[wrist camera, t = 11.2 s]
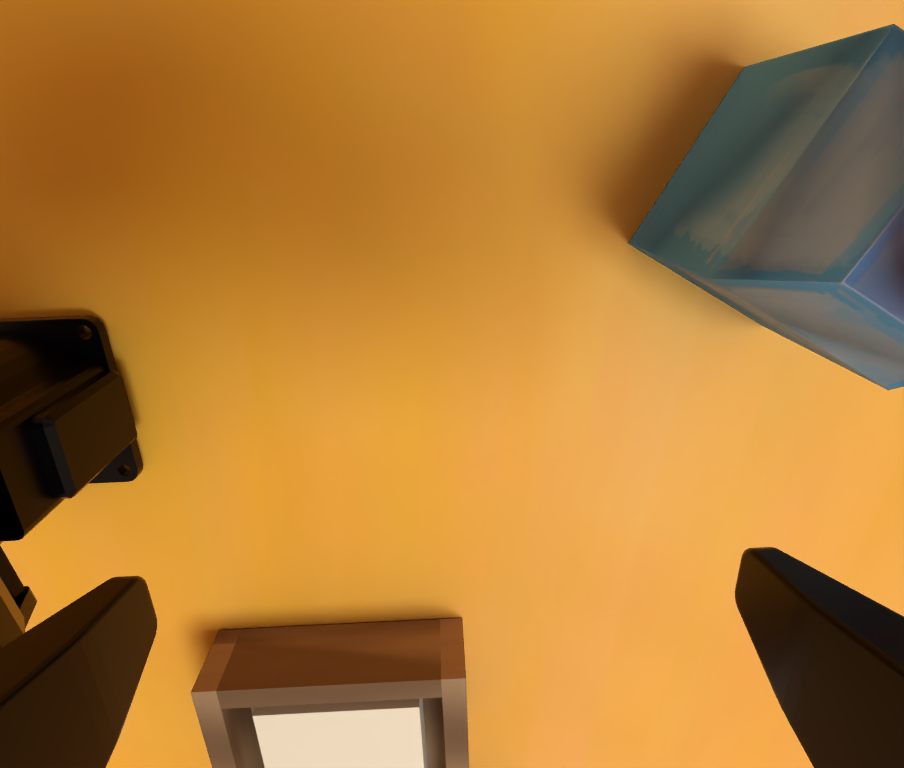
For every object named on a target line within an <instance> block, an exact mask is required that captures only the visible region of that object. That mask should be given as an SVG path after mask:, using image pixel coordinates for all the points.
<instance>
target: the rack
mask: <svg viewBox="0 0 904 768" xmlns="http://www.w3.org/2000/svg"><path fill="white" fill-rule="evenodd" d="M191 695H192V698H193V702H194V705H195V709H196V712H197V716H198V719H199V723H200V726H201V730H202V733H203V737H204V740H205V744H206V747H207V751H208V754H209V757H210V761H211V764H212V768H265V767H264V763H263V758H262V754H261V750H260V746H259V742H258V737H257V733H256V729H255V725H254V720H253V713H254V710H255V707H269V706H288V705H307V704H326V703H345V702H365V701H384V700H403V699H422V698H423V711H424V724H425V737H426V751H427V764H428V768H469V753H468V724H467V694H466V671H465V655H464V639H463V623H462V618H451V619H431V620H411V621H390V622H370V623H350V624H330V625H310V626H290V627H270V628H250V629H230V630H219V631H218V634H217V636H216V638H215V640H214V642H213V645H212V647H211V649H210V651H209V653H208V656H207V658H206V660H205V662H204V664H203V667H202V669H201V671H200V673H199V675H198V678H197V680H196V682H195V684H194V687H193V689H192V691H191Z"/></svg>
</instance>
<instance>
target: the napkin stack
mask: <svg viewBox="0 0 904 768" xmlns="http://www.w3.org/2000/svg"><path fill="white" fill-rule="evenodd" d="M253 720H254V725H255V729H256V733H257V737H258V742H259V746H260V750H261V754H262V758H263V763H264V767H265V768H428V764H427V751H426V737H425V724H424V711H423V698H422V699H403V700H384V701H365V702H345V703H326V704H307V705H288V706H269V707H255V710H254V713H253Z"/></svg>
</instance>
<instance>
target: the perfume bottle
mask: <svg viewBox="0 0 904 768" xmlns="http://www.w3.org/2000/svg"><path fill="white" fill-rule="evenodd" d="M629 244H630V245H632V246H633V247H635V248H637V249H638V250H640V251H641V252H643V253H645V254H646V255H648V256H650V257H651V258H653V259H655V260H656V261H658V262H659V263H661V264H663V265H664V266H666V267H668V268H669V269H671V270H672V271H674V272H676V273H677V274H679V275H681V276H682V277H684V278H686V279H687V280H689V281H690V282H692V283H694V284H695V285H697V286H699V287H700V288H702V289H703V290H705V291H707V292H708V293H710V294H712V295H713V296H715V297H717V298H718V299H720V300H721V301H723V302H725V303H726V304H728V305H730V306H731V307H733V308H734V309H736V310H738V311H739V312H741V313H743V314H744V315H746V316H748V317H749V318H751V319H752V320H754V321H756V322H757V323H759V324H761V325H762V326H764V327H766V328H768V329H770V330H772V331H774V332H776V333H778V334H780V335H782V336H784V337H785V338H787V339H789V340H791V341H793V342H795V343H797V344H799V345H801V346H803V347H805V348H807V349H809V350H811V351H813V352H815V353H817V354H819V355H821V356H823V357H825V358H826V359H828V360H830V361H832V362H834V363H836V364H838V365H840V366H842V367H844V368H846V369H848V370H850V371H852V372H854V373H856V374H858V375H860V376H862V377H864V378H866V379H868V380H869V381H871V382H873V383H875V384H877V385H879V386H881V387H883V388H885V389H887V390H891V389H895V388H899V387H904V30H902V29H901V28H899V27H898V26H896V25H895V24H892V25H889V26H885V27H882V28H878V29H875V30H871V31H868V32H864V33H861V34H857V35H854V36H850V37H847V38H844V39H840V40H837V41H833V42H830V43H826V44H823V45H819V46H816V47H812V48H809V49H805V50H802V51H799V52H795V53H792V54H788V55H785V56H781V57H778V58H774V59H771V60H767V61H764V62H760V63H757V64H754V65H750V66H747V67H744V68H743V70H742V71H741V73H740V74H739V76H738V77H737V79H736V80H735V82H734V83H733V85H732V87H731V88H730V90H729V91H728V93H727V94H726V96H725V97H724V99H723V100H722V102H721V103H720V105H719V106H718V108H717V109H716V111H715V112H714V114H713V115H712V117H711V119H710V120H709V122H708V123H707V125H706V126H705V128H704V129H703V131H702V132H701V134H700V135H699V137H698V138H697V140H696V141H695V143H694V144H693V146H692V147H691V149H690V151H689V152H688V154H687V155H686V157H685V158H684V160H683V161H682V163H681V164H680V166H679V167H678V169H677V170H676V172H675V173H674V175H673V176H672V178H671V180H670V181H669V183H668V184H667V186H666V187H665V189H664V190H663V192H662V193H661V195H660V196H659V198H658V199H657V201H656V202H655V204H654V205H653V207H652V208H651V210H650V212H649V213H648V215H647V216H646V218H645V219H644V221H643V222H642V224H641V225H640V227H639V228H638V230H637V231H636V233H635V234H634V236H633V237H632V239H631V240H630V242H629Z"/></svg>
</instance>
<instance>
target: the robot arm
mask: <svg viewBox="0 0 904 768" xmlns="http://www.w3.org/2000/svg"><path fill="white" fill-rule="evenodd" d="M84 326H87V327H88V328H90V329H91V331H92V336H89V335H88V334H86V333H85V331H84ZM136 437H137V431H136V428H135V424H134V420H133V417H132V413H131V409H130V406H129V402H128V398H127V395H126V391H125V387H124V384H123V380H122V377H121V376H120V375H119V373H118V372H117V369H116V366H115V362H114V359H113V355H112V351H111V348H110V344H109V340H108V337H107V333H106V329H105V327H104V325H103V323H102V322H101V321H100V320H99V319H97V318H95V317H93V316H87V315H86V316H61V317H36V318H12V319H0V544H1V543H2V542H3V541H15V540H20V539H22V538H23V537H24V536H25V535H26V534H28V533H29V532H30V531H31V530H32V529H33V528H34V527H35V526H36V525H37V524H38V523H39V522H40V521H42V520H43V519H44V518H45V517H46V516H47V515H48V514H49V513H50V512H51V511H52V510H53V509H55V508H56V507H57V506H58V505H59V504H60V503H61V502H62V501H63V500H64V499H65V498H72V497H74V496H75V495H76V494H78V493H79V492H80V491H81V490H82V489H83V488H84V487H85V486H86V485H87V484H88V483H108V482H128V481H133V480H134V479H135V478H136V477H137V476H138V475H139V474H140V473H141V472H142V469H143V464H142V460H141V457H140V453H139V450H138V446H137V442H136V439H135V438H136ZM123 465H127V466H129V467H130V469H131V471H129V470H127V469H125V468H124V466H123ZM735 599H736V604H737V607H738V610H739V612H740V614H741V617H742V619H743V621H744V624H745V626H746V628H747V631H748V633H749V635H750V638H751V640H752V642H753V644H754V647H755V649H756V651H757V654H758V656H759V658H760V661H761V663H762V665H763V668H764V670H765V672H766V675H767V677H768V679H769V681H770V684H771V686H772V688H773V691H774V693H775V695H776V697H777V699H778V701H779V704H780V706H781V708H782V710H783V712H784V713H785V715H786V717H787V719H788V721H789V723H790V725H791V727H792V728H793V730H794V732H795V734H796V736H797V738H798V739H799V741H800V743H801V745H802V747H803V748H804V750H805V752H806V754H807V756H808V757H809V759H810V761H811V763H812V765H813V766H814V768H904V617H903V616H902V615H900V614H898V613H896V612H894V611H892V610H890V609H889V608H887V607H885V606H883V605H881V604H879V603H877V602H876V601H874V600H872V599H870V598H868V597H866V596H864V595H862V594H861V593H859V592H857V591H855V590H853V589H851V588H849V587H848V586H846V585H844V584H842V583H840V582H838V581H836V580H835V579H833V578H831V577H829V576H827V575H825V574H823V573H821V572H820V571H818V570H816V569H814V568H812V567H810V566H808V565H807V564H805V563H803V562H801V561H799V560H797V559H795V558H794V557H792V556H790V555H788V554H786V553H784V552H782V551H780V550H779V549H776V548H773V547H760V548H749V549H746V550H745V551H744V553H743V555H742V558H741V563H740V568H739V573H738V578H737V583H736V588H735ZM36 603H37V600H36V598H35V596H34V595H33V593H32V591H31V589H30V588H29V587H28V586H23V584H22V583H21V581H20V579H19V577H18V576H17V574H16V572H15V570H14V569H13V567H12V565H11V563H10V562H9V560H8V558H7V557H6V555H5V553H4V551H3V550H2V548H1V546H0V768H106V765H107V763H108V761H109V759H110V757H111V754H112V752H113V750H114V748H115V745H116V743H117V741H118V738H119V736H120V733H121V731H122V728H123V725H124V723H125V720H126V717H127V714H128V711H129V709H130V706H131V703H132V700H133V697H134V695H135V692H136V689H137V686H138V683H139V680H140V678H141V675H142V672H143V669H144V666H145V663H146V661H147V658H148V655H149V652H150V649H151V646H152V644H153V641H154V638H155V635H156V630H157V618H156V614H155V610H154V607H153V603H152V600H151V597H150V593H149V590H148V587H147V584H146V581H145V580H144V579H143V578H142V577H139V576H125V577H114V578H111V579H109V580H107V581H106V582H104V583H103V584H101V585H99V586H98V587H96V588H95V589H93V590H92V591H90V592H88V593H87V594H85V595H84V596H82V597H81V598H79V599H77V600H76V601H74V602H73V603H71V604H70V605H68V606H66V607H65V608H63V609H62V610H60V611H59V612H57V613H55V614H54V615H52V616H51V617H49V618H48V619H46V620H44V621H43V622H41V623H40V624H38V625H37V626H35V627H33V628H32V629H30V630H29V631H27V632H25V628H26V626H27V623H28V621H29V619H30V617H31V614H32V612H33V610H34V608H35V605H36Z"/></svg>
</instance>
